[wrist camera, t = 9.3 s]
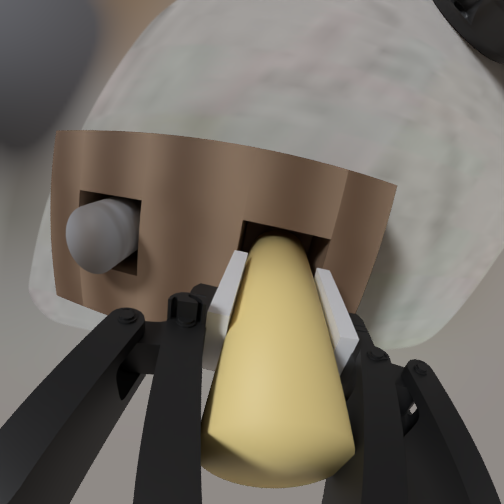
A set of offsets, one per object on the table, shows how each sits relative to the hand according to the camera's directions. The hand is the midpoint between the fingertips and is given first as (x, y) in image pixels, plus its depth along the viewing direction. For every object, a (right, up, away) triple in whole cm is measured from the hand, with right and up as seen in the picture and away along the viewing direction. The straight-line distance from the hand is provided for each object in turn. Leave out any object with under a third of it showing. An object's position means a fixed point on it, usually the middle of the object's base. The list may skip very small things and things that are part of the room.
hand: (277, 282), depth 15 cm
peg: (0, +1, +4) cm, 4 cm away
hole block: (-5, +4, +8) cm, 11 cm away
